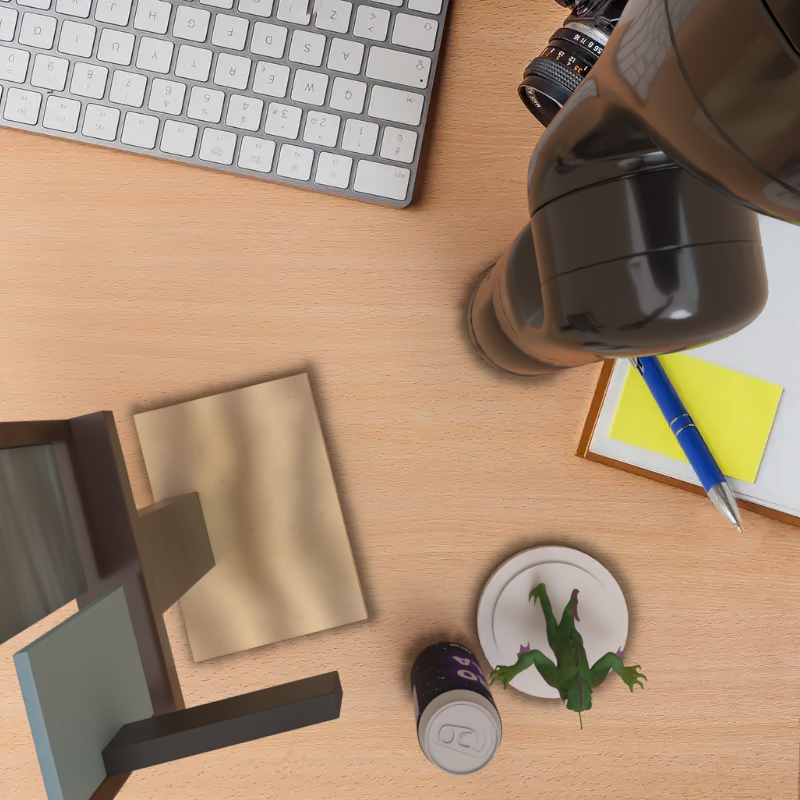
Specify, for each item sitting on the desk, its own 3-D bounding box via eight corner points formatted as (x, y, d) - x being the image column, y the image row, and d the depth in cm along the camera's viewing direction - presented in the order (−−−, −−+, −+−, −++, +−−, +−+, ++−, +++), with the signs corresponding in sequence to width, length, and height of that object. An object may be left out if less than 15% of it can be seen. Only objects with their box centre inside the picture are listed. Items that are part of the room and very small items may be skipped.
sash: (315, 537, 41) (290, 584, 30) (351, 682, 41) (339, 782, 30) (109, 588, 41) (9, 655, 30) (145, 734, 41) (58, 854, 30)
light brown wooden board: (308, 372, 62) (306, 372, 61) (368, 614, 62) (367, 619, 61) (137, 414, 62) (132, 415, 60) (197, 658, 62) (194, 663, 60)
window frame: (184, 408, 61) (-73, 412, 27) (242, 644, 60) (59, 945, 27) (134, 421, 60) (-186, 440, 27) (192, 656, 60) (-55, 975, 27)
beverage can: (473, 713, 62) (497, 789, 50) (403, 702, 62) (411, 774, 50) (486, 644, 62) (512, 702, 50) (416, 632, 62) (426, 688, 50)
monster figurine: (475, 694, 62) (493, 751, 52) (477, 544, 62) (495, 571, 52) (624, 694, 62) (671, 752, 52) (625, 545, 62) (673, 573, 52)
